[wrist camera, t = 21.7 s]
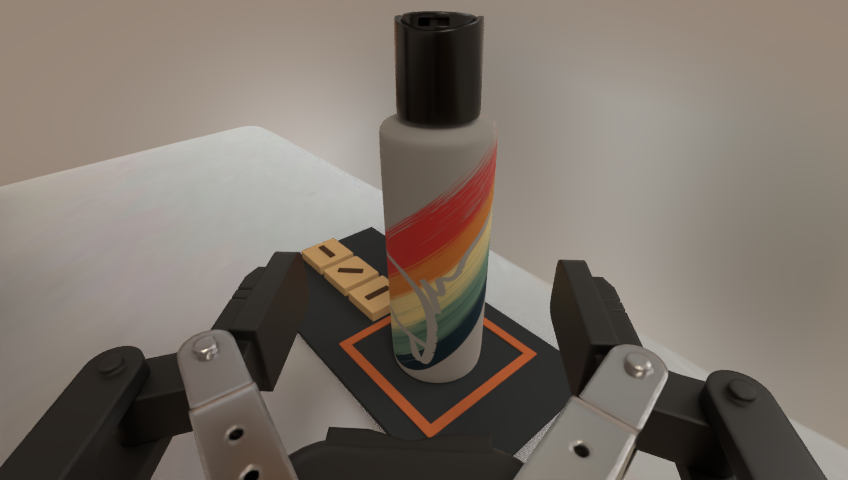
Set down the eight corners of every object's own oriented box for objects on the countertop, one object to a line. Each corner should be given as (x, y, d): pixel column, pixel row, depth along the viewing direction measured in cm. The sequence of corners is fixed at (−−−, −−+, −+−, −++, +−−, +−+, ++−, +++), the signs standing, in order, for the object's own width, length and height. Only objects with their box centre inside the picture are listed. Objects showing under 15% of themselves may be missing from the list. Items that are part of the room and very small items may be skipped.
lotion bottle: (383, 379, 27) (352, 14, 17) (404, 317, 32) (389, 2, 22) (476, 392, 27) (505, 16, 16) (483, 326, 31) (509, 2, 21)
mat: (594, 379, 28) (599, 364, 27) (454, 511, 21) (455, 496, 21) (372, 230, 43) (371, 218, 43) (251, 280, 37) (248, 267, 36)
